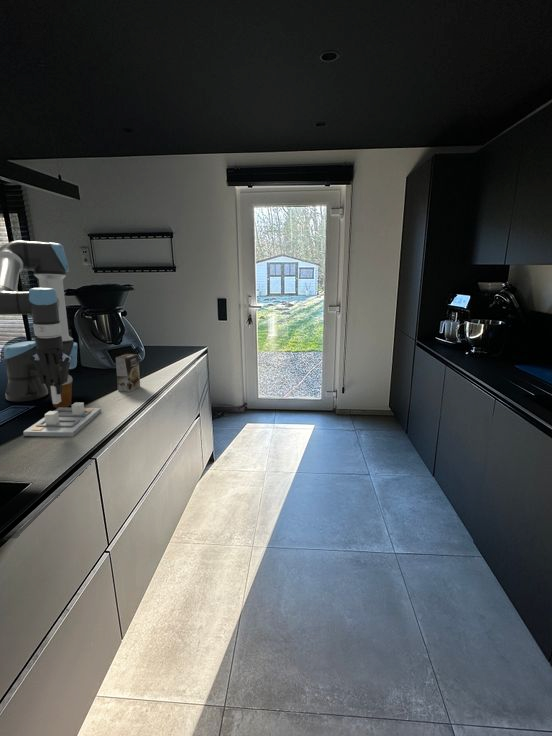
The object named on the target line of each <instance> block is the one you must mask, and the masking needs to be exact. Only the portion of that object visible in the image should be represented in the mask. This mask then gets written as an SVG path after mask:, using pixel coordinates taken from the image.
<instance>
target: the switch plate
mask: <svg viewBox="0 0 552 736" xmlns="http://www.w3.org/2000/svg"><path fill="white" fill-rule="evenodd" d="M101 409H102V408H101V407H84V410H85V413H83V414H82V415H73V414H72V407H69V406H68V407H59V408H56V409H55V410H53V411H58V414H59V422H58V423H57V424H56V425H46V422H45V416H44V417H42V418H41V419H39V420H38V421H36V422H35V423H34V424H32V425H31V426H29V427H28V428H26V429H25V430H23V432H22V433H23V437H27V436H28V437H71V438H72V437H74V436H75V435H76V434H78V433H79V432H80V431H81V430H82V429H83V428H84V427H85V426H87V425H88V423H90V422H91V421H92V420H94V419H95V417H97V416H98V415H99V414H100V413H102V412H101V411H102V410H101Z"/></svg>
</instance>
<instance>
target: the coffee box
mask: <svg viewBox="0 0 552 736" xmlns="http://www.w3.org/2000/svg"><path fill="white" fill-rule="evenodd" d="M139 361H140V360H139V353H138V354H137V353H124V354H122V355H119V356H116V357H115V367H116V370H115V371H116V381H117V384H116V385H117V391H121V392H127V393H130V392H132V391H134V390H136V389H138V388H140V387H141V377H140V375H141V374H140V362H139Z"/></svg>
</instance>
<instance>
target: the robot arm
mask: <svg viewBox="0 0 552 736" xmlns="http://www.w3.org/2000/svg"><path fill="white" fill-rule="evenodd" d="M22 271H32V272H33V276H34V277H35V278H37V279H38V283H39V287H33V288H32V287H31V288H30V289H28V291H18V284H19V279H20V277H19V276H20V273H21V272H22ZM68 272H70V268H69V264H68V260H67V256H66V252H65V248H64V245H62V244H61V243H57V242H50V241H33V240H32V241H31V240H30V241H29V240H14V241H13V240H12V241H10V242H7V243H4V244H3V245H2V246H0V315H1V316H4V315H5V316H6V315H8V316H9V315H10V316H11V315H12V316H13V315H31V317H32V326H33V333H34V336H35V338H34V340H33V341H32V340H28V341H21V342H20V341H19V342H16V343H12V344H9V345H6V346H5V348H4V349H3V359H4V362H5V369H6V374H7V381H8V382H7V385H6V388H5V393H4V394H5V399H6V400H7V401H9V402H14V403H15V402H20V403H21V402H29V401H34V400H38V399H42V398H44V397H47V396H48V394H49V395H50V394H52V399H51V402H53V403H52V405H53V404H58V403H60V402H61V393H62V392H63V391H62V384H64V383H66V382H67V380H68V375H69V372H70V371H69V370H73V369H75V368H76V367H77V363H78V360H77V358H78V343H77V342H74V338H73V337H72V336H70V334H69V326H68V325H69V324H68V317H67V309H66V301H65V300H66V299H65V298H66V297H65V290H64V279H65V278H66V277H67V273H68ZM54 383H55V384H54ZM46 385H47V386H46Z"/></svg>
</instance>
